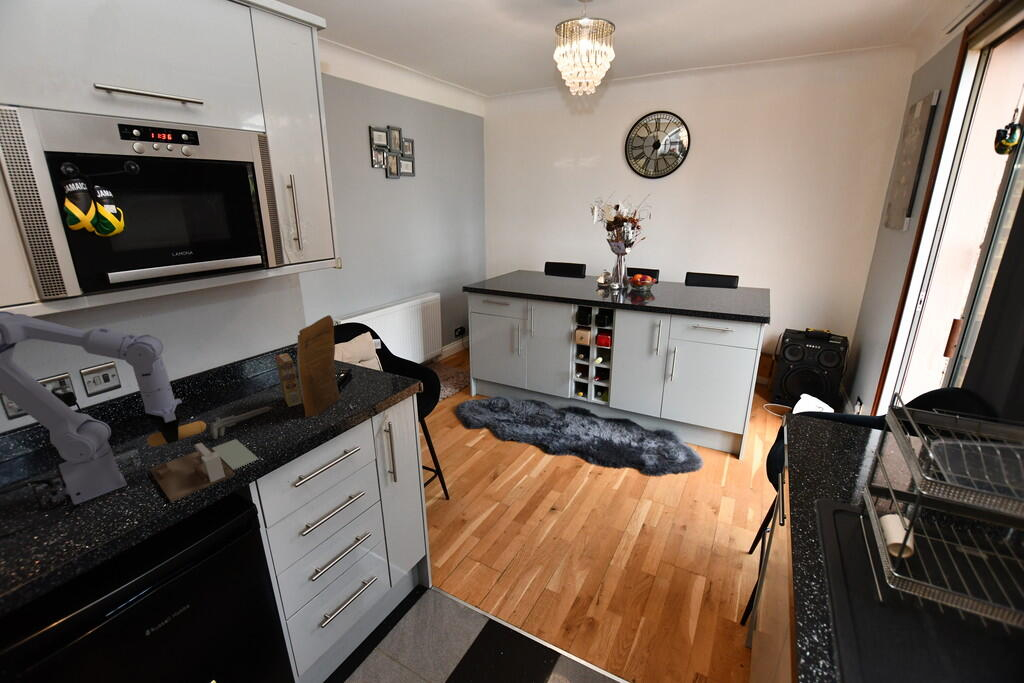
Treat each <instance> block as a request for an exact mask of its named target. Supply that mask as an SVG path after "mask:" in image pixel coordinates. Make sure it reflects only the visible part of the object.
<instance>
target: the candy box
mask: <svg viewBox="0 0 1024 683" xmlns="http://www.w3.org/2000/svg"><path fill="white" fill-rule="evenodd" d="M274 362H275V365H276V369H277V372H278V379H279V382H280V386H281V387H280V388H281V391H282V395H283V398H284V401H285V402H286V404H287V406H288V407H289V408H290V407H294V406H298V405H301V404H302V403H303V402H302V398H301V397H302V396H301V394H300V389H299V384H298V379H297V373H296V371H295V365H294V360H293V359H292V357H291V356H290V355H289V354H288V353H287V352H286V353H282V354H276V355H274Z"/></svg>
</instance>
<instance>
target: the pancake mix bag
mask: <svg viewBox="0 0 1024 683" xmlns="http://www.w3.org/2000/svg"><path fill="white" fill-rule="evenodd" d="M333 320H334V319H333V318H332V316H331V315H326V316H324V317H322V318H320V319H318V320H316V321H315V322H314V323H312V324H310V325H308V326H306V327H304V328H302V329H301V330H299V331H298V333H299V334H297V351H296V352H297V357H296V358H297V370H298V377H299V378H298V379H299V385H300V389H301V397H302V398H301V399H302V401H303V402H302V403H303V407H304V411H305V412H304V414H305V418H309V417H315V416H318V415H320V414H322V413H323V412H325V411H326V410H327V409H329V408H330V407H332V406H333V405H334V404H336V403H338V402H339V401H341V394H340V392H339V387H338V386H339V385H338V382H337V374H336V367H335V365H336V364H335V356H336V355H335V354H336V345H335V344H336V343H335V325H334V321H333Z"/></svg>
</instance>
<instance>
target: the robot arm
mask: <svg viewBox="0 0 1024 683" xmlns="http://www.w3.org/2000/svg"><path fill="white" fill-rule="evenodd" d="M28 340H39V341H44V342H45V341H46V342H51V343H52V342H53V343H59V344H65V345H70V346H77V347H81V348H82V349H83V350H84V351H85V353H87V354H91V355H95V356H101V357H106V358H112V359H117V360H123V361H125V362H126V363H127V364H128V365H130V366H131V367H132V369H133V372H134V377H135V379H136V383H137V386H138V389H139V391H140V392H139V393H140V396H141V399H142V402H143V405H144V412H145V413H146V414H145V416H146V417H147V418H148V419H149V421H150V422H151V423H152V424H153V425H154V426H155V427H156V429H157V431H158V433H159V432H161V433H162V435H163V437H164V439H165V440H166V442H167V443H166V444H168V445H169V444H173V443H176V442H178V441H179V440H178V438H179V433H178V427H179V426H180V425H179V424H180V420H181V418H182V413H181V411H179V412H176V408H177V405H179V404H182V403H183V402H182V400H181V398H176V399H175V396H174V394H173V389H172V386H171V383H170V382H171V381H170V379H169V375H168V371H167V369H166V366H165V363H164V359H163V356H162V353H163V351H164V346H163V345H164V344H163V343H162V341H161V340H160V339H159V338H157V337H155V336H152V335H150V334H142V335H139V336H138V334H136V333H131V334H127V333H123V332H119V331H113V330H112V328H111V327H107V326H103V327H101V328H99V327H96V328H93V329H91V330H83V329H79V328H75V327H71V326H68V325H63V324H60V323H56V322H55V323H54V322H51V321H47V320H43V319H39V318H35V317H32V316H31V315H28V314H23V313H13V312H10V311H5V310H4V311H2V310H1V311H0V393H1V394H2V395H3V396H4V397H5V398H7V399H8V400H10V401H11V402H12V403H14V404H15V405H16V406H17V407H19V408H20V409H21V410H23V411H24V412H25V413H27V414H28V415H29V416H30V417H32V418H33V419H34V420H35V421H37V422H38V423H39V424H40V425H41V426H42V427H45V429H47V430H49V431H48V432H49V441H50V444H51V445H52V446H54V448H56V449H57V451H58V454H59V456H60V457H61V458H62V459H63V460H64V461H65V462H63V463H59V464H58V467H59V470H60V472H61V473H60V474H61V475H62V476H61V477H62V478H63V481H64V484H65V491H66V494H67V495H68V496H70V498H71V501H72V504H73V505H75V506H76V505H78V504H82V503H84V502H87V501H90V500H92V499H94V498H97V497H100V496H102V495H105V494H108V493H110V492H113V491H115V490H119V489H121V488H123V487H126V486H128V483H127V481H126V479H125V477H124V476H123V474H122V472H120V471H119V467H118V465H117V461H116V459H115V456H114V455H115V454H114V453H113V451H112V448H111V445H110V444H109V441H108V440H109V439H110V437H111V435H112V430H111V427H110V426H109V425H108V424H107V423H106V422H104V421H102V420H99V419H95V418H94V417H92V416H91V415H89V414H88V413H82V412H81V413H80V412H76V411H75V410H73V409H72V408H71V407H70V406H68V405H67V404H66V403H65V402H64V401H62V400H61V399H60V398H58V397H57V396H56V395H55V394H54V393H52V392H51V391H50V390H49V389H48V388H46V386H44V385H43V384H41V382H39V381H38V380H36V379H35V378H34V377H33V376H32V375H30V374H29V373H28V372H27V371H25V370H24V369H23V368H22V367H21V366H19V365H18V364H17V363H16V362H15V361H14V360H13V357H14V351H15V348H16V346H17V343H20V342H23V341H24V342H25V341H28Z"/></svg>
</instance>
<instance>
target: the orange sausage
mask: <svg viewBox="0 0 1024 683" xmlns="http://www.w3.org/2000/svg"><path fill="white" fill-rule="evenodd" d="M206 428H207V424H206V423H205V422H204V421H203V420H196V421H193V422H190V423H187V424H184V425H179V426H178V433H179V438H178V441H179V440H182V439H185V438H188V437H191V436H194V435H198V434H201V433H203V432H204V431H205V430H206ZM146 443H147V445H148V446H150V447H152V448H153V447H160V446H162V445H166V444H168V443H167V442H166V440H165V439H164V437H163V435H162V433H161V432H159V431H158V432H156V433H153V434H151V435H149V436H148V437H147V439H146Z"/></svg>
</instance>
